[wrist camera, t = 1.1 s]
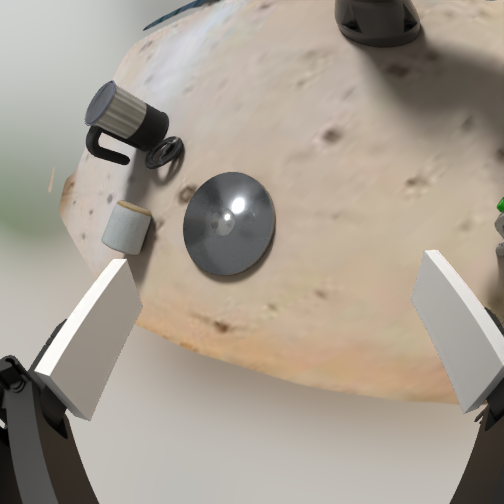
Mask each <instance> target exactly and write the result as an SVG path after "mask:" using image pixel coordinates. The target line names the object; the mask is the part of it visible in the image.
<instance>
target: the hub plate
mask: <svg viewBox="0 0 504 504" xmlns="http://www.w3.org/2000/svg"><path fill="white" fill-rule="evenodd" d="M275 222H276V216H275V208H274V204H273V201H272V199H271V197H270V195H269V193H268V191H267V190H266V189H265V188H264V186H263V185H261V184H260V183H259V182H258V181H256V180H255V179H253V178H252V177H250V176H248V175H246V174H243V173H238V172H227V173H222V174H219V175H217V176H214V177H212V178H211V179H209V180H208V181H206V182H205V183H204V184H203V185H202V186H201V187H200V188H199V189H198V190H197V191H196V192H195V194H194V195H193V197H192V198H191V200H190V202H189V204H188V207H187V210H186V213H185V217H184V223H183V235H184V241H185V245H186V248H187V251H188V253H189V255H190V256H191V258H192V259H193V261H194V262H195V263H196V264H197V265H198V266H199V267H200V268H202V269H203V270H205V271H207V272H209V273H212V274H217V275H235V274H238V273H241V272H244V271H246V270H248V269H249V268H251V267H252V266H254V265H255V264H256V263H257V262H258V261H259V260H260V259H261V258H262V257H263V255H264V254H265V253H266V251H267V249H268V247H269V246H270V243H271V241H272V238H273V235H274V231H275Z"/></svg>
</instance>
